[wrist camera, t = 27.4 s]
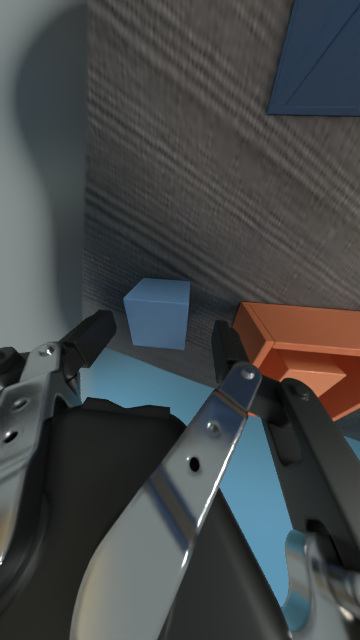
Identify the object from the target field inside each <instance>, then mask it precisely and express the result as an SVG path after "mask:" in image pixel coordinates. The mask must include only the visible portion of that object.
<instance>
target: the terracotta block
mask: <svg viewBox="0 0 360 640" xmlns="http://www.w3.org/2000/svg"><path fill="white" fill-rule="evenodd" d="M258 369H259V370H260V372H261V374H262V375H264V376H266V377H269V378H272V379H274V380H277V381H280V382H281V381H282V380H283V379H284V378H294V379H297V380H299V381H301V382H303V383H304V384H306V385H307V386H309V387H310V388H311V389H312V390H313V391H314V393H315V394H316V396H317V397H319V396H320V395H322V394H323V393H324V392H326V391H327V390H328V389H330V388H331V387H332V386H334V385H335V384H336V383H337V382H339V381H340V380H341V379H343V378H344V377H345V376H346V374H345V373H344V372H343V371H342V370H341V369H340V368H339V367H338V366H337V365H336V364H335V363H334V362H333V361H332V360H331V359H330V358H329V357H327V356H326V355H325V354H324V353H318V352H308V351H297V350H287V349H276V348H271V349H270V350H269V352H268V354H267V355H266V357H265V358H264V360H263V361H262V363H261V365H260V366H259V368H258Z"/></svg>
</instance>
